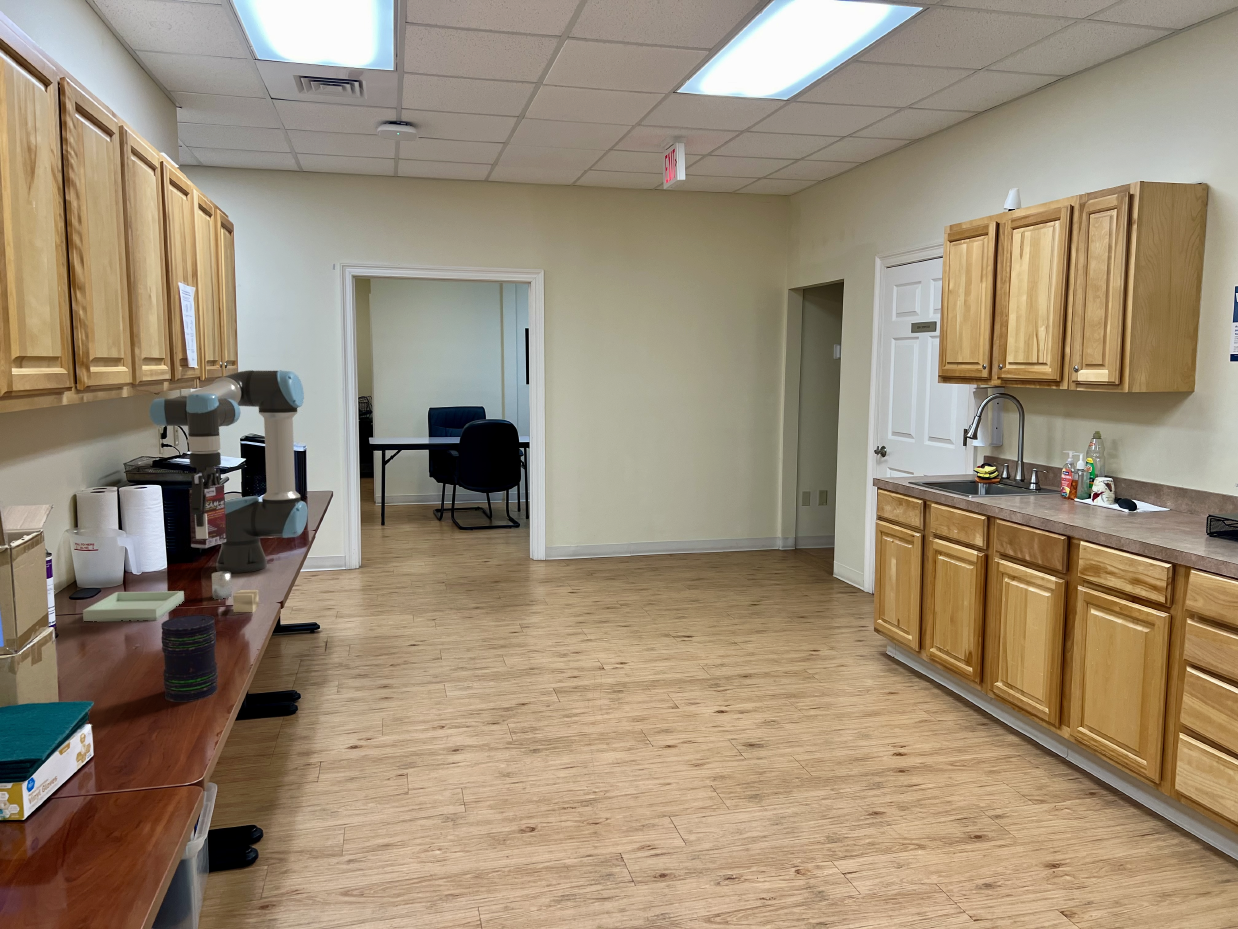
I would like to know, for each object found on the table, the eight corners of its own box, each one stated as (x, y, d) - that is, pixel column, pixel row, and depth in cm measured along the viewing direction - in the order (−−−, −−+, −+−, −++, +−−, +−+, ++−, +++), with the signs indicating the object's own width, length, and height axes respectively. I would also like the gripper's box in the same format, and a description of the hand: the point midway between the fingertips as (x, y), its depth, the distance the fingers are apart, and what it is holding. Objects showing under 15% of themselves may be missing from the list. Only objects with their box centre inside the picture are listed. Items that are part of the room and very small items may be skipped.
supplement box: (206, 548, 225) (203, 489, 223) (190, 547, 226) (187, 488, 224) (227, 541, 233) (225, 484, 231) (212, 540, 234) (209, 483, 232)
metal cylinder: (216, 595, 247) (215, 571, 246) (234, 594, 248) (233, 571, 247) (210, 599, 242) (209, 575, 241) (228, 599, 243) (227, 575, 242)
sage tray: (116, 602, 238) (116, 592, 238) (184, 601, 240) (183, 591, 240) (83, 621, 220) (82, 610, 220) (156, 620, 222) (156, 609, 222)
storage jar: (168, 706, 167) (164, 632, 165) (160, 690, 175) (156, 619, 173) (223, 694, 173) (220, 623, 171) (213, 680, 181) (210, 611, 179)
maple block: (239, 608, 235) (239, 590, 234) (258, 607, 235) (258, 590, 235) (233, 613, 230) (232, 595, 229) (252, 613, 230) (252, 595, 230)
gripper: (205, 447, 237) (209, 526, 240) (173, 456, 215) (177, 543, 218) (233, 447, 238) (237, 526, 240) (204, 456, 216) (208, 543, 219)
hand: (209, 534), depth 229 cm, fingers closed on supplement box, 9 cm apart
